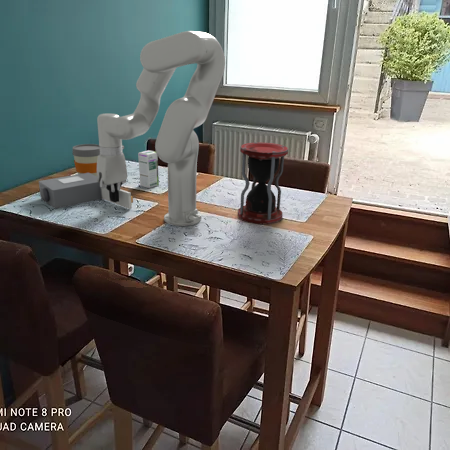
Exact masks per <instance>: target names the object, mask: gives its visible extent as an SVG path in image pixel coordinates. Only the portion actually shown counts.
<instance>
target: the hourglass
mask: <svg viewBox="0 0 450 450" xmlns="http://www.w3.org/2000/svg"><path fill="white" fill-rule="evenodd" d="M239 151H240V153H242V162H241V163H242V166H241V175H242V178H243V179H244V181H245V185H244V188H243V189H242V191H241V193H240V207H238V209H237V217H238V218H239V219H240V220H242V221H243V222H246V223H250V224H255V225H270V224H271V225H272V224H276V223H278V222H281V220H282V219H283V215H284V214H283V211H282V210H281V208H280V207H281V198H282V197H281V196H282V189H281V187H280V186H279V179H280V177H281V176H282V174H283V172H284V161H285V160H284V159H285V156H287V155H288V153H289V148H288V146H285V145H284V144H279V143H272V142H257V141H254V142H247V143H243V144H241V145H240V150H239ZM247 156H248V157H247ZM246 163H247V164H246ZM246 166H247V168H248V170H249V173H251V175H252V176H253V179H252V181H253V182H252V183H251V190H249V187H250V179H249V177H247V175H246ZM278 170H279V171H278ZM277 171H278V173H277ZM275 174H276V175H275ZM274 176H275V177H274ZM267 181H268V182H267ZM257 182H258V183H257ZM266 182H267V183H266ZM273 182H274V187H276V190H277V197H276V196H275V193H274V192H273V190H272V184H273ZM248 190H249V191H248ZM247 191H248V193H247V194H246V192H247ZM245 194H246V198H245ZM276 198H277V199H276ZM244 201H245V202H244ZM244 204H245V205H244Z"/></svg>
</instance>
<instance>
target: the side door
mask: <svg viewBox="0 0 450 450" xmlns="http://www.w3.org/2000/svg"><path fill="white" fill-rule="evenodd" d="M100 190H101V199H100V200H104V201H106V202H109V203H111V204H115V205H118V206H120V207H123V208H125V209H129V210H131V209H133V207H132V204H133V203H134V198H133V197H134V196H133V195H132V193H131V191H127V190H124V189H121V188H120V190H119V202H112V201H110V197H109V191H108V190H107V189H103V188H100Z"/></svg>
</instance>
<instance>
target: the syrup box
mask: <svg viewBox="0 0 450 450" xmlns="http://www.w3.org/2000/svg"><path fill="white" fill-rule="evenodd" d="M137 154H138V169H139V170H138V171H139V185H140V186H141V187H142V188H143V187H144V188H147V189H151V188H154V187H157V186H159V185H160V182H159V179H160V178H159V161H158V160H159V159H158V158H159V157H158V155H157V153H156V150H155V151H154V150H149V149H148V150H144V151H141V152H138V153H137Z"/></svg>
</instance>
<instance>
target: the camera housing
mask: <svg viewBox="0 0 450 450" xmlns="http://www.w3.org/2000/svg"><path fill="white" fill-rule="evenodd" d="M38 186H39V194H40V199H41V200H42V201H43V202H44V203H46V204H48V205H49V206H51V207H52V208H53V209H55V210H56V209H61V208H66V207H67V208H68V207H70V206H75V205H79V204H85V203H89V202H94V201H99V200H102V199H101V190H100V183H99V182H98V181H97V176H95V175H93V174H91V173H83V174H78V173H77V174H73V175H67V176H61V177H60V176H59V177H55V178H48V179H44V180H43V179H42V180H38Z"/></svg>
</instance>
